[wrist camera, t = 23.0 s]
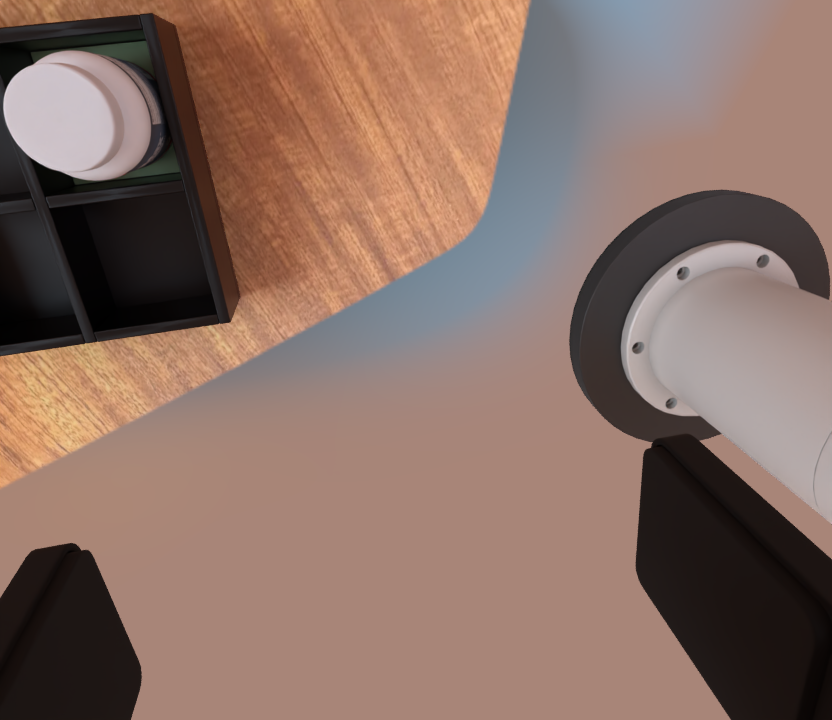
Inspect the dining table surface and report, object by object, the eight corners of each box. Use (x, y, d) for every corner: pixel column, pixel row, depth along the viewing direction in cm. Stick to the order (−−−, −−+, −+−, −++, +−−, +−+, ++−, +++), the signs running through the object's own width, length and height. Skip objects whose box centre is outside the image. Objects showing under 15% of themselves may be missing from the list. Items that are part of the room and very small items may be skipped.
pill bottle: (111, 184, 32) (42, 212, 24) (47, 87, 30) (-52, 82, 22) (198, 141, 32) (157, 155, 24) (140, 41, 30) (74, 18, 22)
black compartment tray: (175, 24, 30) (152, 12, 26) (240, 297, 36) (230, 322, 32) (-133, 55, 29) (-209, 47, 25) (-11, 333, 35) (-55, 364, 31)
